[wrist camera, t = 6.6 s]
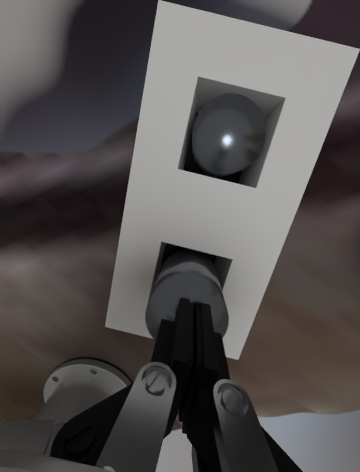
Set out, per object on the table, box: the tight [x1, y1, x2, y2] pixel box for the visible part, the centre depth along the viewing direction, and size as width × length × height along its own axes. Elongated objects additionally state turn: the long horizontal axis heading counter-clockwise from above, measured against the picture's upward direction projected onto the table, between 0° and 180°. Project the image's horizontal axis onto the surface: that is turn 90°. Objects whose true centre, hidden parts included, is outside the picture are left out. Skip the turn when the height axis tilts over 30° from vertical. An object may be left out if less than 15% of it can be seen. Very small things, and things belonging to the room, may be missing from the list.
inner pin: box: [145, 250, 229, 341], centre depth 14 cm, size 5×5×6 cm
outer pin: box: [192, 94, 266, 177], centre depth 16 cm, size 5×5×6 cm
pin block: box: [105, 0, 360, 360], centre depth 17 cm, size 23×12×6 cm, turn 167°
